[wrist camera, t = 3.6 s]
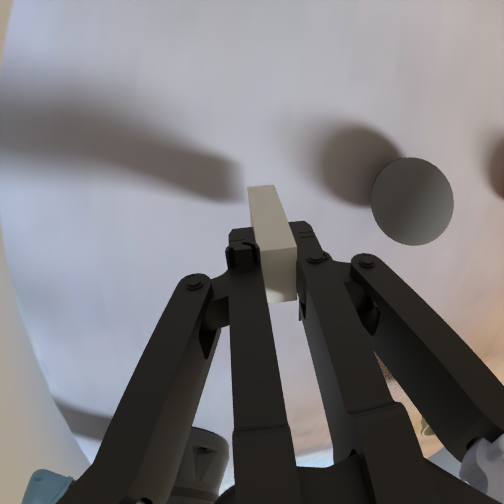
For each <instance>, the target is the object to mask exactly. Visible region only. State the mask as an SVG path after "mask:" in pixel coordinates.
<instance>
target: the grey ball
mask: <svg viewBox="0 0 504 504" xmlns="http://www.w3.org/2000/svg"><path fill="white" fill-rule="evenodd" d="M371 208H372V213H373V215H374V218H375V220H376V222H377V224H378V226H379V227H380V229H381V230H382V231H383V232H384V233H385V234H386V235H387V236H388V237H390V238H391V239H393V240H394V241H396V242H399V243H401V244H405V245H411V246H415V245H423V244H426V243H429V242H431V241H433V240H435V239H436V238H438V237H439V236H440V235H441V234H442V233H443V232H444V231H445V229H446V228H447V226H448V225H449V223H450V220H451V218H452V214H453V208H454V200H453V193H452V189H451V186H450V184H449V182H448V180H447V178H446V177H445V175H444V174H443V173H442V172H441V171H440V170H439V169H438V168H437V167H436V166H435V165H433V164H432V163H430V162H428V161H425V160H423V159H419V158H402V159H399V160H396V161H393V162H392V163H390V164H388V165H387V166H386V167H385V168H384V169H383V170H382V171H381V172H380V173H379V175H378V176H377V178H376V179H375V181H374V184H373V187H372V192H371Z"/></svg>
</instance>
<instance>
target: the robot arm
mask: <svg viewBox="0 0 504 504" xmlns="http://www.w3.org/2000/svg"><path fill="white" fill-rule="evenodd" d="M247 188H248V198H249V208H250V219H251V227H247V228H238V229H232V231H231V232H230V234H229V246H228V247H227V248H226V250H225V254H226V260H227V266H228V270H227V271H226V272H225V273H224V274H222V275H221V276H219V277H216V278H213V279H210V278H209V277H208V276H207V275H205V274H200V273H197V274H191V275H188V276H186V277H184V278H183V279H181V280H180V282H179V283H178V285H177V287H176V289H175V290H174V292H173V294H172V296H171V298H170V300H169V302H168V304H167V306H166V308H165V310H164V312H163V314H162V316H161V318H160V320H159V322H158V324H157V326H156V328H155V330H154V332H153V334H152V336H151V338H150V340H149V342H148V344H147V346H146V348H145V350H144V352H143V354H142V356H141V358H140V360H139V362H138V364H137V366H136V368H135V371H134V373H133V375H132V377H131V379H130V381H129V383H128V385H127V388H126V390H125V392H124V394H123V396H122V398H121V401H120V403H119V405H118V407H117V409H116V412H115V414H114V416H113V418H112V420H111V423H110V425H109V427H108V429H107V432H106V434H105V436H104V439H103V441H102V443H101V446H100V448H99V450H98V453H97V455H96V457H95V460H94V462H93V464H92V465H91V466H90V467H89V468H88V469H87V470H86V471H85V472H84V474H83V475H82V476H81V477H80V478H79V479H78V480H74V479H73V477H70V476H69V477H66V476H63V475H60V474H57V473H54V472H52V471H49V470H46V469H40V470H37V471H35V472H34V473H33V474H32V476H31V478H30V481H29V484H28V486H27V489H26V492H25V494H24V497H23V501H22V503H21V504H504V386H503V384H502V383H501V382H500V381H499V380H498V379H497V377H496V376H495V375H494V374H493V373H492V372H491V371H490V369H489V368H488V367H487V366H486V365H485V364H484V363H483V362H482V360H481V359H480V358H479V357H478V356H477V355H476V354H475V353H474V352H473V351H472V349H471V348H470V347H469V346H468V345H467V344H466V343H465V342H464V341H463V340H462V339H461V338H460V337H459V336H458V334H457V333H456V332H455V331H454V330H453V329H452V328H451V327H450V326H449V325H448V324H447V323H446V322H445V321H444V320H443V319H442V318H441V317H440V316H439V315H438V314H437V313H436V312H435V311H434V310H433V309H432V308H431V307H430V306H429V305H428V304H427V303H426V302H425V301H424V300H423V299H422V298H421V297H420V296H419V295H418V294H417V293H416V292H415V291H414V290H413V289H412V288H411V287H410V286H409V285H408V284H406V283H405V282H404V281H403V280H402V279H401V278H400V277H399V276H398V275H397V274H396V273H395V272H394V271H393V270H392V269H391V268H389V267H388V266H387V265H386V264H385V263H384V262H383V261H382V260H381V259H380V258H378V257H377V256H375V255H372V254H366V253H362V254H357V255H355V256H354V257H353V258H352V259H351V263H346V262H338V261H334V260H333V259H332V257H331V256H330V255H329V254H328V253H327V252H325V251H323V250H322V248H321V246H320V244H319V242H318V239H317V237H316V235H315V233H314V232H313V229H312V227H311V225H310V224H308V223H307V222H305V221H296V222H288V221H287V218H286V215H285V212H284V210H283V207H282V204H281V202H280V199H279V196H278V194H277V191H276V188H275V186H274V185H264V186H254V187H247ZM297 293H298V297H299V321H301V318H302V321H303V325H304V329H305V333H306V337H307V341H308V345H309V349H310V353H311V356H312V360H313V364H314V368H315V372H316V376H317V381H318V385H319V389H320V393H321V397H322V401H323V405H324V409H325V414H326V418H327V422H328V426H329V431H330V435H331V440H332V444H333V461H334V465H332V466H329V467H326V468H317V467H299V466H296V460H295V454H294V448H293V442H292V436H291V431H290V427H289V425H288V422H287V416H286V410H285V404H284V398H283V391H282V385H281V379H280V373H279V367H278V361H277V355H276V349H275V343H274V337H273V332H272V326H271V320H270V314H269V308H268V304H269V303H278V302H286V301H294V300H297ZM228 325H230V350H231V374H232V395H233V415H234V431H233V434H232V445H233V463H234V479H235V485H233V486H231V487H230V488H229V489H227V490H226V491H225V492H224V493H223V494H221V495H220V496H219V488H220V485H221V482H222V479H223V476H224V473H225V470H226V467H227V464H228V461H229V445H228V443H227V441H226V440H225V439H223V438H222V437H220V436H218V435H216V434H213V433H211V432H208V431H204V430H200V429H196V428H191V427H192V424H193V420H194V417H195V414H196V411H197V407H198V404H199V401H200V398H201V395H202V391H203V388H204V385H205V382H206V378H207V375H208V372H209V369H210V366H211V362H212V359H213V356H214V353H215V350H216V346H217V343H218V340H219V337H220V334H221V328H222V327H225V326H228ZM373 350H374V351H375V353H376V354H377V355H378V357H379V358H380V359H381V361H382V362H383V363H384V365H385V366H386V367H387V369H388V370H389V371H390V373H391V374H392V375H393V377H394V378H395V379H396V381H397V382H398V383H399V385H400V386H401V387H402V389H403V390H404V392H405V393H406V394H407V396H408V397H409V398H410V400H411V401H412V402H413V404H414V405H415V407H416V408H417V409H418V411H419V412H420V413H421V415H422V416H423V418H424V419H425V420H426V422H427V423H428V425H429V426H430V427H431V429H432V430H433V432H434V433H435V435H436V436H437V437H438V439H439V440H440V441H441V443H442V444H443V445H444V446H445V448H446V449H447V450H448V451H449V452H450V453H451V454H452V455H453V456H454V457H455V458H456V459H457V460H458V461H460V462H461V463H462V465H461V469H460V472H459V476H460V478H461V480H460V479H458V478H457V477H455V476H453V475H452V474H450V473H448V472H447V471H445V470H443V469H442V468H440V467H439V466H437V465H435V464H434V463H432V462H430V461H429V460H427V459H426V458H424V457H423V454H422V451H421V448H420V445H419V442H418V439H417V437H416V434H415V431H414V428H413V426H412V423H411V420H410V418H409V415H408V412H407V410H406V408H405V407H404V405H403V404H402V403H401V402H395V401H394V400H393V398H392V396H391V394H390V391H389V389H388V386H387V383H386V381H385V378H384V376H383V373H382V371H381V368H380V366H379V363H378V361H377V358H376V356H375V354H374V351H373ZM462 480H463V481H467V482H468V483H469V484H470V485H468V484H467V483H465V482H463V481H462Z"/></svg>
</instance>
